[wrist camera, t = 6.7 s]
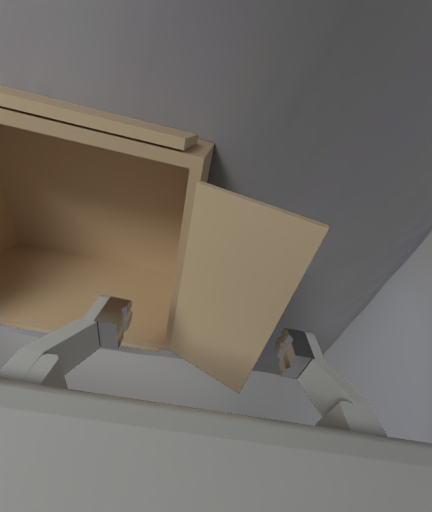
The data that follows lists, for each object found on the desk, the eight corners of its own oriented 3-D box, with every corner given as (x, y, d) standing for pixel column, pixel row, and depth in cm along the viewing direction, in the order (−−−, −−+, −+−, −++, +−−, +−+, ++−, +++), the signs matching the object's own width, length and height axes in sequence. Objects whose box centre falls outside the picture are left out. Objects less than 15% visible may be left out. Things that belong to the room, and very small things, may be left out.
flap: (197, 182, 10) (328, 228, 8) (202, 181, 10) (328, 225, 9) (169, 350, 17) (239, 393, 15) (173, 345, 17) (241, 387, 15)
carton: (-34, 72, 17) (-306, 17, 8) (216, 135, 18) (206, 144, 10) (21, 248, 25) (-85, 312, 17) (188, 282, 27) (170, 355, 18)
